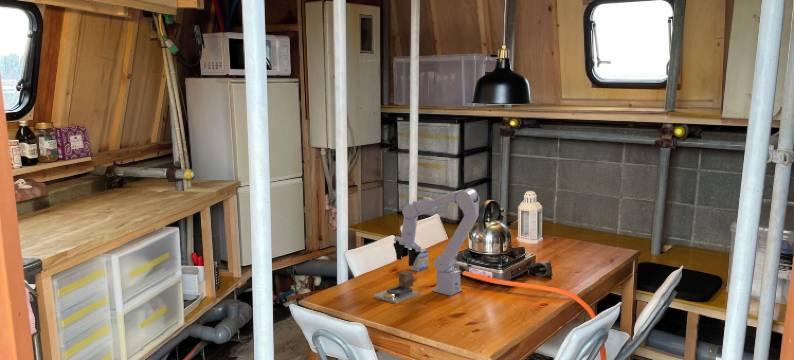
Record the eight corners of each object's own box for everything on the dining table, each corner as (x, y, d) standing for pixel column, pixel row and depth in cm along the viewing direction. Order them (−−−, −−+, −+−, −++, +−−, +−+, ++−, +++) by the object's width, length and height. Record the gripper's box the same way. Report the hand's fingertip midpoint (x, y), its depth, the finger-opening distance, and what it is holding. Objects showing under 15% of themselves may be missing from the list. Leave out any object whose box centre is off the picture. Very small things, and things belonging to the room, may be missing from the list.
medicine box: (418, 272, 278) (418, 253, 277) (410, 270, 281) (410, 252, 280) (428, 267, 284) (428, 249, 283) (420, 266, 287) (420, 248, 286)
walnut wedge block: (413, 285, 259) (412, 271, 258) (405, 288, 255) (405, 274, 254) (406, 283, 261) (406, 270, 261) (398, 286, 258) (398, 273, 257)
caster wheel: (528, 276, 277) (551, 273, 275) (530, 279, 266) (554, 276, 264) (526, 262, 277) (548, 259, 276) (528, 263, 266) (551, 260, 265)
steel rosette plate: (418, 294, 248) (418, 288, 247) (396, 303, 237) (396, 298, 237) (396, 288, 255) (396, 283, 255) (373, 297, 245) (373, 291, 245)
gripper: (390, 227, 257) (386, 258, 260) (413, 238, 247) (409, 269, 250) (402, 226, 262) (399, 255, 265) (426, 236, 252) (421, 267, 254)
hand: (404, 262), depth 258 cm, fingers open, 7 cm apart
